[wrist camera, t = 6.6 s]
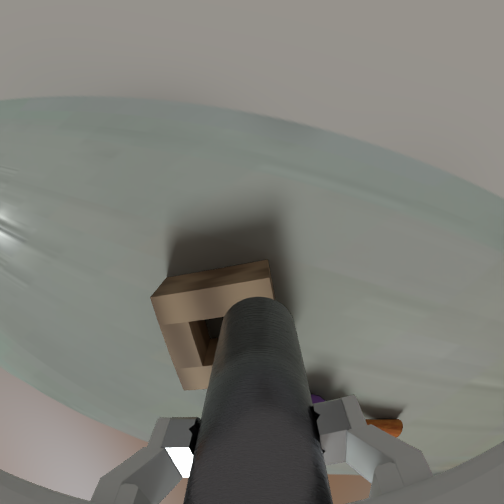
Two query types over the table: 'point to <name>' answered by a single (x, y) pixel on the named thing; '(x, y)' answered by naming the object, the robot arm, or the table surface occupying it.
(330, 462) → the robot arm
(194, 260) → the table surface
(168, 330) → the hole block
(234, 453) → the long pin
